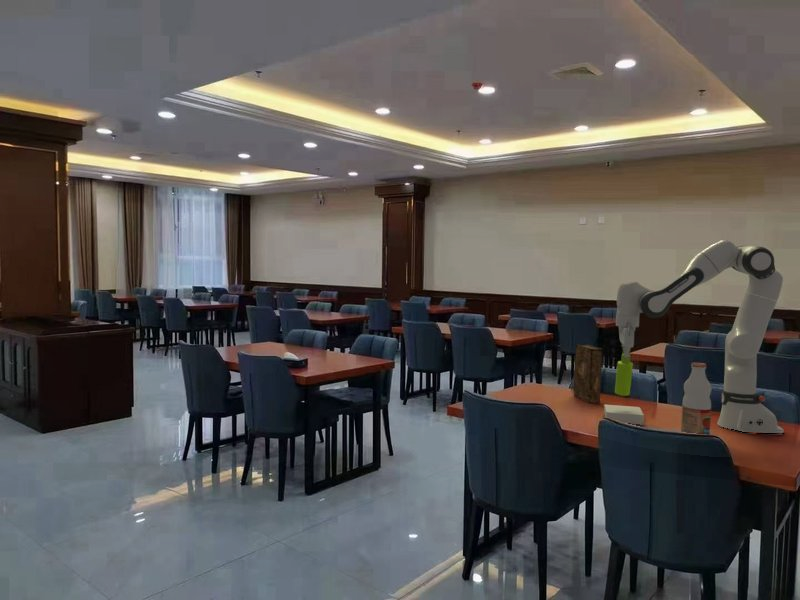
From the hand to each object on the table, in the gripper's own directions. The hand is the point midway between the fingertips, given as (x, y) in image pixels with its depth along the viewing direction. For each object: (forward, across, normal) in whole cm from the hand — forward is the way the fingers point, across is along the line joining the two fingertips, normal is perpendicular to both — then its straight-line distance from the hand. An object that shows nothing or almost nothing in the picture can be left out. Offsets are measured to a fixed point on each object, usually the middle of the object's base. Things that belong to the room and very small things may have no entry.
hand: (625, 355), depth 242 cm
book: (+26, +33, +13) cm, 44 cm away
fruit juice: (+26, -21, -23) cm, 41 cm away
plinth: (+26, 0, 0) cm, 26 cm away
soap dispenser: (+16, +2, +1) cm, 16 cm away
